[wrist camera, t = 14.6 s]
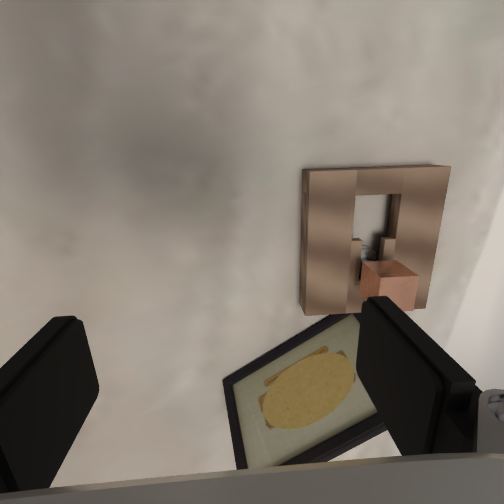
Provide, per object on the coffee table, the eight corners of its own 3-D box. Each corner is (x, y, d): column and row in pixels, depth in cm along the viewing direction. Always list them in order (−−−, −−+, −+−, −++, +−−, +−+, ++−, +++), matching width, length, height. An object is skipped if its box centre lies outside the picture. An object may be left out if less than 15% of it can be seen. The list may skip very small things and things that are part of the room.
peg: (343, 245, 40) (379, 276, 30) (376, 244, 40) (421, 273, 30) (341, 276, 41) (374, 314, 32) (372, 274, 41) (414, 312, 32)
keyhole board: (302, 169, 36) (309, 171, 33) (431, 164, 37) (451, 166, 34) (299, 302, 42) (305, 315, 39) (410, 295, 43) (425, 308, 39)
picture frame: (355, 298, 42) (424, 385, 29) (378, 337, 46) (449, 430, 32) (221, 379, 45) (227, 491, 32) (253, 409, 49) (271, 522, 35)
